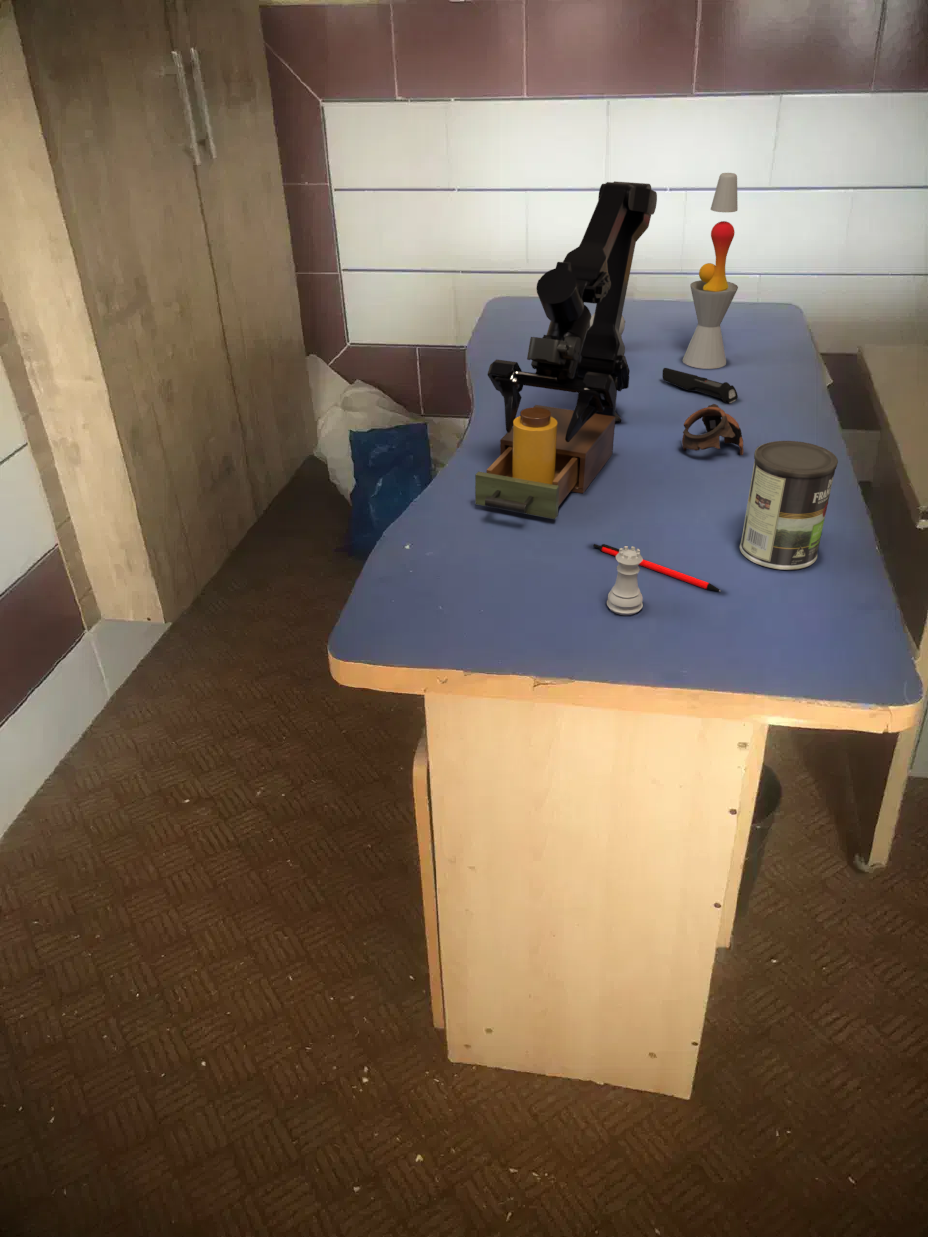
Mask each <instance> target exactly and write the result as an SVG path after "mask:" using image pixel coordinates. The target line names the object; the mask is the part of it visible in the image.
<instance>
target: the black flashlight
mask: <svg viewBox="0 0 928 1237" xmlns="http://www.w3.org/2000/svg"><path fill="white" fill-rule="evenodd" d="M661 376H662V380H663V381H664V382H667V383H670V384H672V385H673V386H677V387H679V388H680V389H684V390H685V391H689V392H693V391H696V392H698V393H702V394H705V395H708V396H711V397H715V398H718V399H721V400H722V402H723V403H724V404H727V403H728V404H733V403H734V402H736V401H737V400H738V392H737V389H736V388H735V386H734V385H731V384H730V383H729V382H727V381H724V382H719V381H716V380H711V379H709V378H708V377H702V376H698V375H697V374H692V373H688V372H684V371H679V370H676V369H673V368H668V367H663V368H662V375H661Z"/></svg>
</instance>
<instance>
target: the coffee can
mask: <svg viewBox="0 0 928 1237" xmlns="http://www.w3.org/2000/svg"><path fill="white" fill-rule="evenodd" d="M753 453H754V454H753V460H754V461H753V468H752V473H751V480H750V485H749V491H748V496H747V497H748V498H747V504H746V511H745V514H744V515H745V516H744V522H743V529H742V535H741V539H740V544H739V550H740V551H739V552H740V553H741V554H742V556H744V558H746V559H747V560H749V561H751V562H752V563H753V564H757V565H759V566H762V567H765V568H767V569H774V570H779V571H780V570H781V571H794V570H801V569H805V568H808V567H810V566H812V565H813V564H814V563H815V562H816V561H817V559H818V551H819V547H820V542H821V539H822V537H821V536H822V534H823V529H824V524H825V518H826V514H827V510H828V505H829V499H830V496H831V491H832V488H833V487H832V486H833V482H834V477H835V472H836V470H837V468H838V464H839V460H838V457H837V456H836V454H834V453H833V452H832V451H830V450H829V449H827V448H826V447H823V446H820V445H816V444H814V443H809V442H804V441H798V440H776V441H775V440H774V441H769V442H766V443H763V444H761V445H759V446H757V447H756V449H755V450H754V452H753Z"/></svg>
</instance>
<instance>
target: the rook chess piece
mask: <svg viewBox="0 0 928 1237" xmlns="http://www.w3.org/2000/svg"><path fill="white" fill-rule="evenodd" d="M618 549H619V553H618V554H617V555H616V557H615V560H616V561H617V563H618V565H617V566H616V571H617V575H616V579H615V583H614V585H613V586H612V587H611V590H610V591H609V592H608V594H607V600H606V605H607V607H608V608H609V609H610V611H611V612H612V613H614V614H616V615H620V616H633V615H635V614H637V613H639V612H640V611H641V610H642V608H643V607H644V606H643V601H644V598H643V594H642V592H641V589H640V587H639V585H638V574H639V572H640V571H641V569H640V567H639V566H640V565H639V564H640V563H641V562H642V560H644V559H643V558H644V557H643V556H642V555H641V550H640V549H639V548H636V547H635V546H630V549H629V546H628V545H625V546H623V548H622V547H620V548H618Z"/></svg>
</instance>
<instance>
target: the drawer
mask: <svg viewBox="0 0 928 1237" xmlns="http://www.w3.org/2000/svg"><path fill="white" fill-rule="evenodd" d="M512 455H513V446H509V447H508V448H507V449H506V450H505V451H504V452H503V453H502V454H501V455H500V454H499V456H498V457H497V458H496V459H495V460H494V461H493V463H492V464H490V466H488V467H487V469H486V472H485V471H484V472H483V471H477V472H476V474H475V476H474V477H475V482H474V483H475V485H474V486H475V487H474V488H475V490H474V494H475V495H474V496H475V501H474V504H475V505H478V506H482V507H487V508H492V509H493V508H494V509H498V510H504V511H510V512H515V513H520V514H523V515H524V514H525V515H531V516H535V517H540V518H545V519H552V520H556V519H557V518H558V516H559V507H560V506H561V504H562V503H563V502H564V500H565V499H566V498H567V497H568V495H569V493H571V490H572V489H573V487H574V486H575V485H576V483H577V482H578V481H579V471H580V458H581V457H575V456H569V455H563V454H557V453H556V466H555V479H554V480H553V482H552V484H546V483H541V482H535V481H529V480H524V479H518V478H512Z"/></svg>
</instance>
